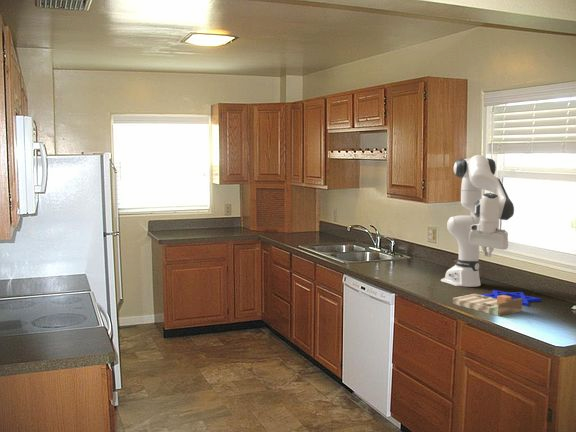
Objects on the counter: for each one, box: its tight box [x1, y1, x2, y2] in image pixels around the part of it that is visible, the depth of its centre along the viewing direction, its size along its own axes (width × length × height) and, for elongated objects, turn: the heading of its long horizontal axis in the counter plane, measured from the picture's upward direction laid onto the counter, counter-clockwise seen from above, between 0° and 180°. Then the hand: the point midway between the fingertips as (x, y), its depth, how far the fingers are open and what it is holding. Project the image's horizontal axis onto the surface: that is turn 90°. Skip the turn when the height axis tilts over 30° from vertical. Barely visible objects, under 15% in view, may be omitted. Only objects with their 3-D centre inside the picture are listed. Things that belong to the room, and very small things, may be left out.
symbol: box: [479, 289, 542, 307], centre depth 317 cm, size 26×2×30 cm
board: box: [452, 293, 523, 317], centre depth 299 cm, size 27×17×6 cm, turn 36°
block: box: [497, 295, 512, 306], centre depth 291 cm, size 4×4×4 cm
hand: (487, 256), depth 298 cm, fingers closed
